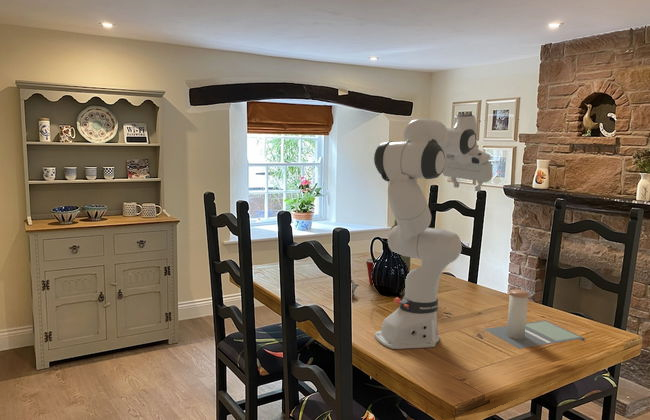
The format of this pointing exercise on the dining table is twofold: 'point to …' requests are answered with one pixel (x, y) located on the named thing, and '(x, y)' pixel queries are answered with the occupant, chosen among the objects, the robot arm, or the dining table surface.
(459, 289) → the dining table surface
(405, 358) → the dining table surface
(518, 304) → the ball canister
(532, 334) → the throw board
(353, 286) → the game die
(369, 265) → the plastic cup
